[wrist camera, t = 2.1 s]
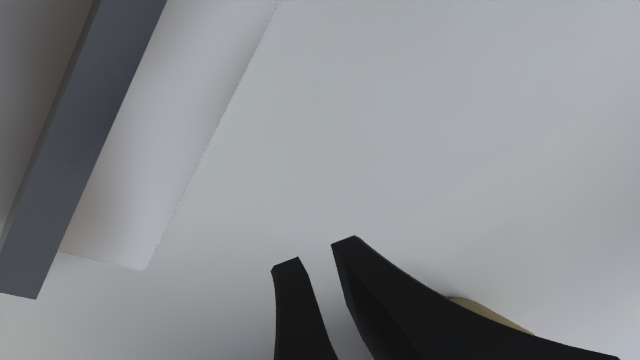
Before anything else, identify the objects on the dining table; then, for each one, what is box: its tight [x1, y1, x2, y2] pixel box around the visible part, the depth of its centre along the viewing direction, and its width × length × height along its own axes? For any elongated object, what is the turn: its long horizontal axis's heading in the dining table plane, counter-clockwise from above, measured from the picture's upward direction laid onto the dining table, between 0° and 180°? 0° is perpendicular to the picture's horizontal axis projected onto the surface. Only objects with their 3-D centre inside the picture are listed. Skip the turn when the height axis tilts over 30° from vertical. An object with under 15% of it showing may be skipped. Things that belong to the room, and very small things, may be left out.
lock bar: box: [0, 0, 167, 300], centre depth 14 cm, size 14×3×4 cm, turn 150°
